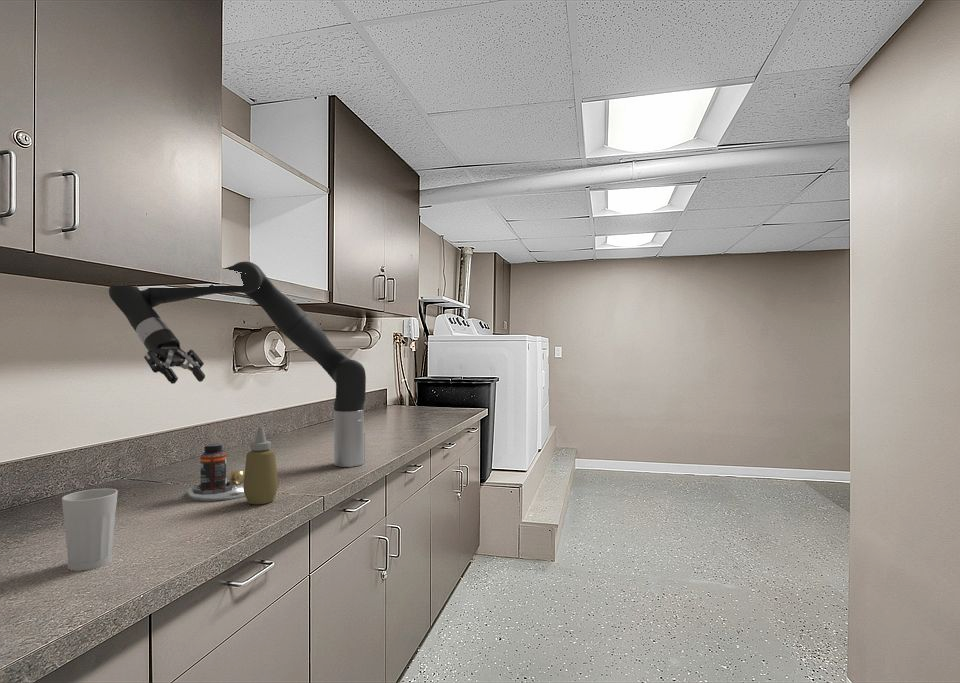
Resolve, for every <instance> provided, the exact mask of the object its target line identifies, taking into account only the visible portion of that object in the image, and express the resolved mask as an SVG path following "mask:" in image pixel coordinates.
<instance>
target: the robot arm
mask: <svg viewBox="0 0 960 683" xmlns="http://www.w3.org/2000/svg"><path fill="white" fill-rule="evenodd" d="M223 269H229V270H234V271H238V272H242V273H240V274H241V279H242V281H243V284H244V285H243V286H209V287H194V288H148V287H147V289H142V290H140V289H139V287H138V286H137V287H132V286H111V285H110V286H109V288H108V294H109V298H110V300H112V302H113V303H114V304H115V305H116V307H117V308H118V309H119V310H120V311H121V312H122V313H123V315H124V316H125V317H126V319H127V321H128V322H129V324H130V326H131V327H132V329H133V330H134V332H136V334H137V336H138V338H139V340H140V342H141V343H142V344H143V346H144V347H145V348H146V349H147V353H146V354H145V355H144V356H143V358H144V359H145V361H146V363H147V365H148V366H149V367H150V369H151V371H152V372H153V373H155V374H157V373H160V374H162V375H163V376H164V378H166V380H167V382H169V383H170V384H171V385H172V384H173V385H174V384H176V382H178V380H179V376H177V374H176V373H175V372H174V370H173V369H172V368H174V367H178V368H179V367H180V368H181V369H184V370H188V371H190V372H191V373H192V375H193V376H194V378H195V379H196V380H197V381H198V382H199V383H201V382H203V381H204V379H205V378H206V375H205V373H204V372H203V370H202V369H201V368H202V367H203V366H204V364H205V363H204V362H203V360H202V359H201V358H200V357H199V355H198V354H197V353H196V352H195V351H194V350H193V349H189V350H188V351H184V350H183V349H182V348H181V343H180V340H179V339H178V338H177V336H176V335H175V334H174V332H173V331H172V330H171V328H170V327H169V326H168V325H167V323H165V321H163V319H162V318H161V317H160V315H159V314H158V313H157V311H156V310H155V309H154V308H155V307H158V306H160V305H162V304H168V303H174V302H180V301H186V300H190V299H194V298H199V297H203V296H209V295H216V294H225V293H226V294H227V293H229V294H231V293H233V294H237V293H238V294H239V293H241V294H244V295H246V296H247V297H248V298H250V299H251V300H253V301H254V302H255V303H256V304H257V305H258V306H260V307H261V308H262V310H264V312H265V313H266V314H267V316H268V317H269V318H270V320H271V321H272V322H273V324H274V325H275V326H276V328H277V329H278V330H279V331H280V332H281V333H282V334H283V335H284V336H285V337H286V338H287V339H288V340H289V341H291V342H292V343H293V344H294V345H295V346H297V347H298V348H299V349H300V350H301V351H302V352H303V353H305V354H306V355H308V357H311V358H312V359H313V360H314V361H315V362H316V363H318V365H319V366H320V367H322V369H323V370H324V371H325V373H327V374H328V376H329V377H330V378H331V379H332V381H333V382H334V383H335V399H334V403H333V446H334V447H333V465H334V466H336V467H341V468H342V467H343V468H349V467H350V468H351V467H359V466H362V465H364V464H365V462H366V432H365V430H364V429H365V423H364V422H365V420H364V418H365V414H364V413H365V410H364V409H365V408H364V407H365V401H366V391H367V390H366V389H367V388H366V387H367V386H366V384H367V381H366V380H367V377H366V370H365V367H364V365H363V364H362V363H361V362H359V361H358V360H356V359H355V360H354V359H351V358H349V357H348V356H347V355H346V354H344V353H343V352H342V351H340V350H339V349H338V348H337V347H336V346H335V345H334V344H333V343H332V342H331V341H330V339H329V338H328V336H327V335H326V333H325V332H324V330H323V329H322V328H321V327H320V326H319V324H318V323H317V322H316V321H315V320H314V319H313V318H312V317H311V316H310V315H309V314H308V313H306V311H304V310H303V309H302V308H301V307H300V306H299V305H297V303H295V302H293V300H291V299H290V298H289V297H288V296H286V295H285V294H284V293H282V292H281V291H280V290H279V289H278V288H277V287H276V286H275V285H274V284H273V282H272V281H271V279H269V278H268V277H267V276H266V274H265V272H263V270H262V269H261V268H260V266H258V265H257V264H255V263H254V262H251V261H239V262H236V263H234V264H233V265H231V266H227V267H224V268H223ZM236 273H237V272H236ZM245 273H246V274H245ZM259 287H260V288H259ZM258 288H259V289H258ZM185 360H186V361H185ZM185 362H186V363H185Z"/></svg>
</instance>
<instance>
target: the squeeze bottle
mask: <svg viewBox="0 0 960 683" xmlns="http://www.w3.org/2000/svg"><path fill="white" fill-rule="evenodd" d="M271 448H272V441H271V440H267V437H266V433H265V429H264V427H263V426H258V427H257V432H256V436H255V440H254V441H252V442H250V451H248V452H246V456H245V457H246V458H245V467H244V484H243V490H244V493H245V496H244V497H245V498H246V501H247V503H248V504H250V505H265V504H269V503H271V502H273V501H274V500H275V498H276V497H275V496H276V494H277V492H278V489H279V479H278V470H277V461H276V452H275V451H274V450H273V449H271Z"/></svg>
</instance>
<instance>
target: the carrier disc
mask: <svg viewBox="0 0 960 683" xmlns="http://www.w3.org/2000/svg"><path fill="white" fill-rule="evenodd" d="M244 474H245V469H233V470H230V471H229V473H228V479H226V481H227V483H226V487H223V488H218V489H207V490H204V489H201V483H199V484H196V485H194V486H191V487H190V488H189V489H187V490H188V491H187V495H188V496H187V498H188V497H189V498H188V499H189V500H192V501H196V500H197V501H196V502H220V501H228V500H236V499H240V498H243V497H246V496H245V493H244V490H243V484H244Z"/></svg>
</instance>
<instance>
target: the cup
mask: <svg viewBox="0 0 960 683" xmlns="http://www.w3.org/2000/svg"><path fill="white" fill-rule="evenodd" d="M118 493H119V491H118V489H114V488H94V489H87V490H85V489H84V490H81V491H75V492H72V493H68V494H66V495H63V496H62V497H61V503H62V511H63V512H62V513H63V514H62V515H63V518H64V527H65V528H64V529H65V538H66V539H65V542H66V549H67V550H66V551H67V569H68V570H69V569H70V570H69V571H72V570H74V571H73V572H81V571H82V570H84V571H89V570H94V569H95V570H96V569H99V568H102V567H104V566H106V565H108V564H110V563H111V562H112V561H113V544H114V531H115V522H116V521H115V520H116V519H115V518H116V510H117V503H118V502H117V500H118ZM101 566H102V567H101ZM98 567H99V568H98Z"/></svg>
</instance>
